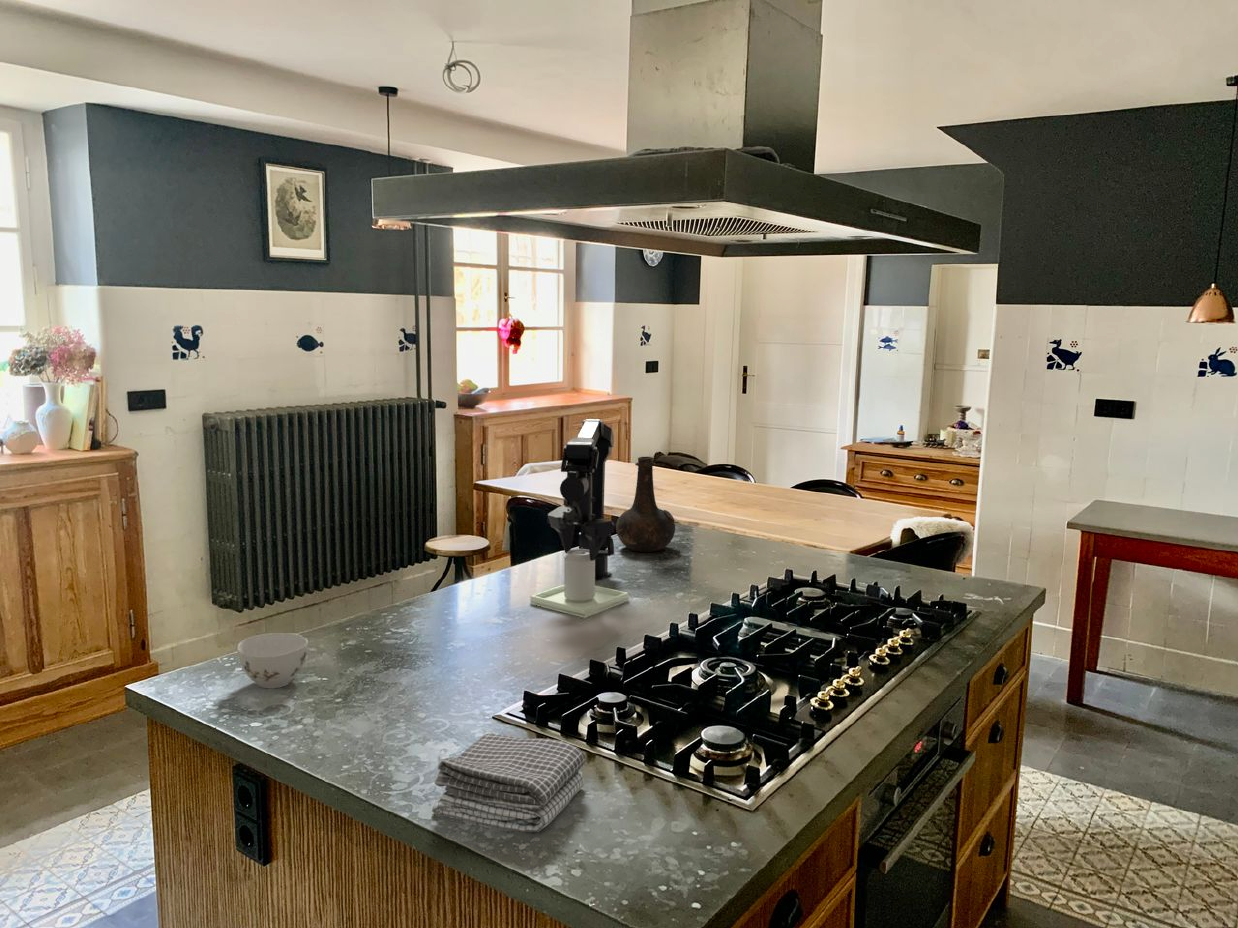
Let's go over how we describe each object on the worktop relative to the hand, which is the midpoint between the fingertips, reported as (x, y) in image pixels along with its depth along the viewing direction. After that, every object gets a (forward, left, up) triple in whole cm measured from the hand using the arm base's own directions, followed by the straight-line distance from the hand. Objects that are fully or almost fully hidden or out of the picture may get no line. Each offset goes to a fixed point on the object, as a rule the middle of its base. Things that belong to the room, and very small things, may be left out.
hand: (579, 556), depth 226 cm
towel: (+79, +52, -12) cm, 95 cm away
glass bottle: (-54, -19, -12) cm, 58 cm away
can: (0, 0, -11) cm, 11 cm away
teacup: (+74, -14, -12) cm, 76 cm away
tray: (0, 0, -12) cm, 12 cm away
